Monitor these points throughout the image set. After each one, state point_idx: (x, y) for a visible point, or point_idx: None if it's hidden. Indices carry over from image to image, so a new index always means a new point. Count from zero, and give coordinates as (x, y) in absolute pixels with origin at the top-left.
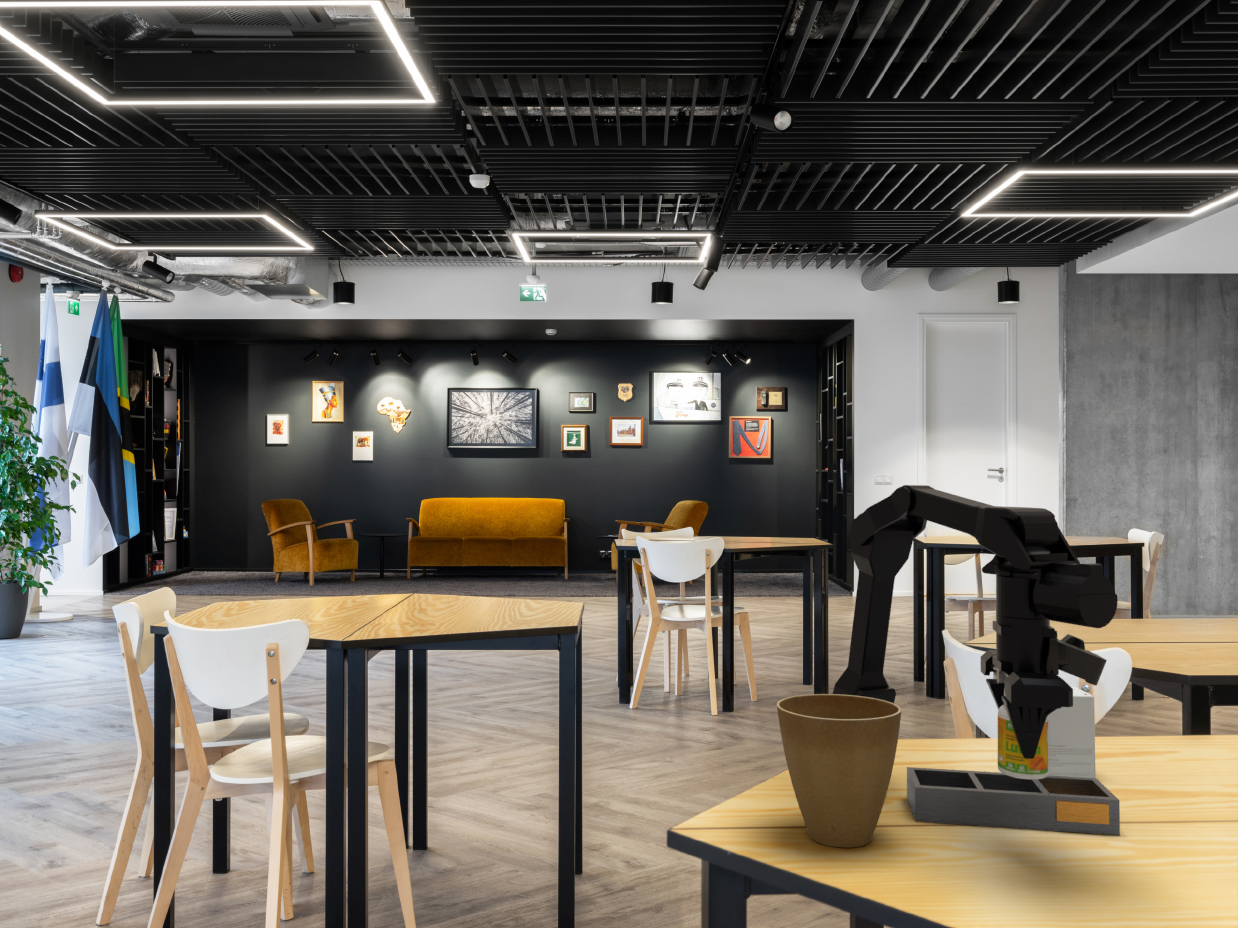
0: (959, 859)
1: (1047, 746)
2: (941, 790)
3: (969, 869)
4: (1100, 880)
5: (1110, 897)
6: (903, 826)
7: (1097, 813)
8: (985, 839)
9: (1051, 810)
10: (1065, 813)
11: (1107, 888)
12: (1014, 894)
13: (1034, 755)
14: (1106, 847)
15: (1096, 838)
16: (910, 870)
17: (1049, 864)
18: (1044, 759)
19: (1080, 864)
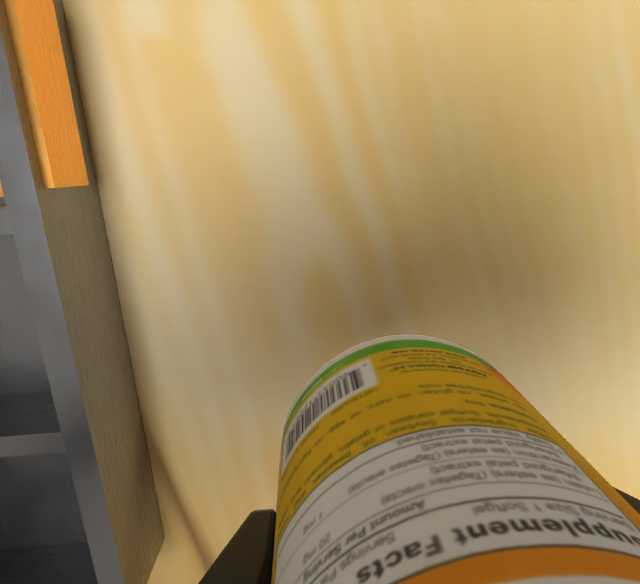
0: None
1: (526, 421)
2: (119, 549)
3: None
4: (471, 140)
5: (581, 141)
6: (214, 561)
7: (43, 34)
8: (244, 388)
9: (69, 203)
10: (71, 156)
11: (524, 134)
12: (593, 363)
13: (622, 492)
14: (195, 54)
15: (119, 67)
16: None
17: (386, 253)
18: (528, 403)
19: (365, 169)
